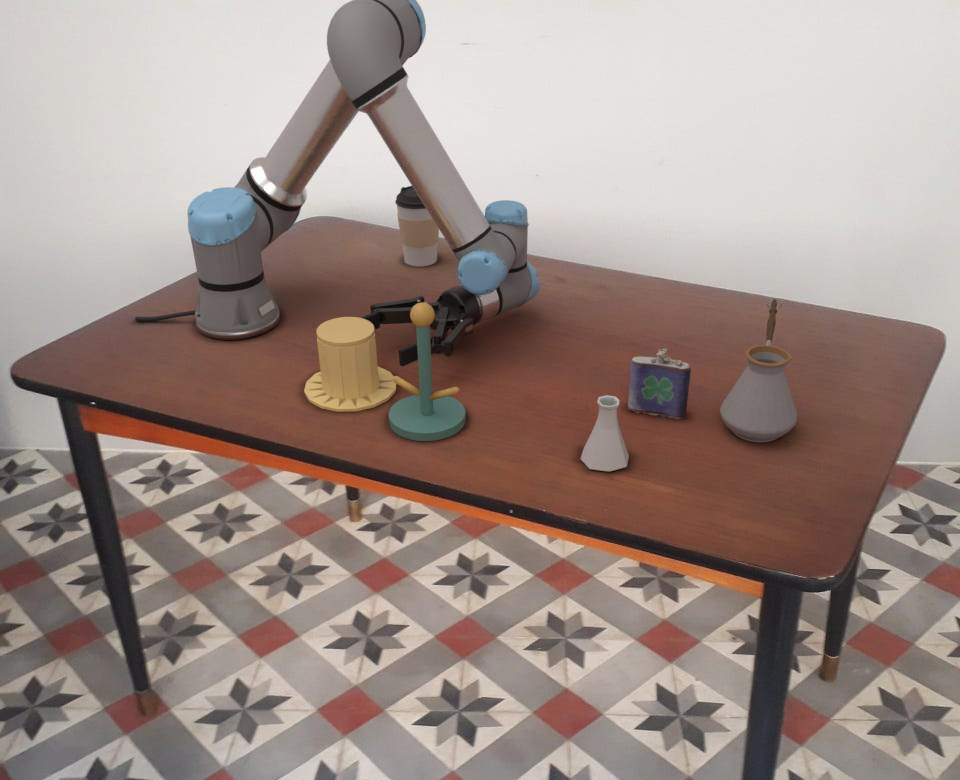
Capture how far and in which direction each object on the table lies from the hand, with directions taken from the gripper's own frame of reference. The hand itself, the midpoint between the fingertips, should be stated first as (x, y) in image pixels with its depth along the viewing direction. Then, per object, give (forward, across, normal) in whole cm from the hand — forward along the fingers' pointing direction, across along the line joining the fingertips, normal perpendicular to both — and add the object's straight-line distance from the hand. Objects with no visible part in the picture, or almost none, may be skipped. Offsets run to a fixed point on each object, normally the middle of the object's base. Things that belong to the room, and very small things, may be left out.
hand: (373, 344), depth 172 cm
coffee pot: (-35, -52, -6) cm, 63 cm away
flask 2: (-24, -40, -6) cm, 47 cm away
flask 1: (-8, -43, -6) cm, 44 cm away
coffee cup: (-38, +32, -6) cm, 50 cm away
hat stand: (+3, -16, -6) cm, 18 cm away
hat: (+5, 0, -6) cm, 8 cm away
